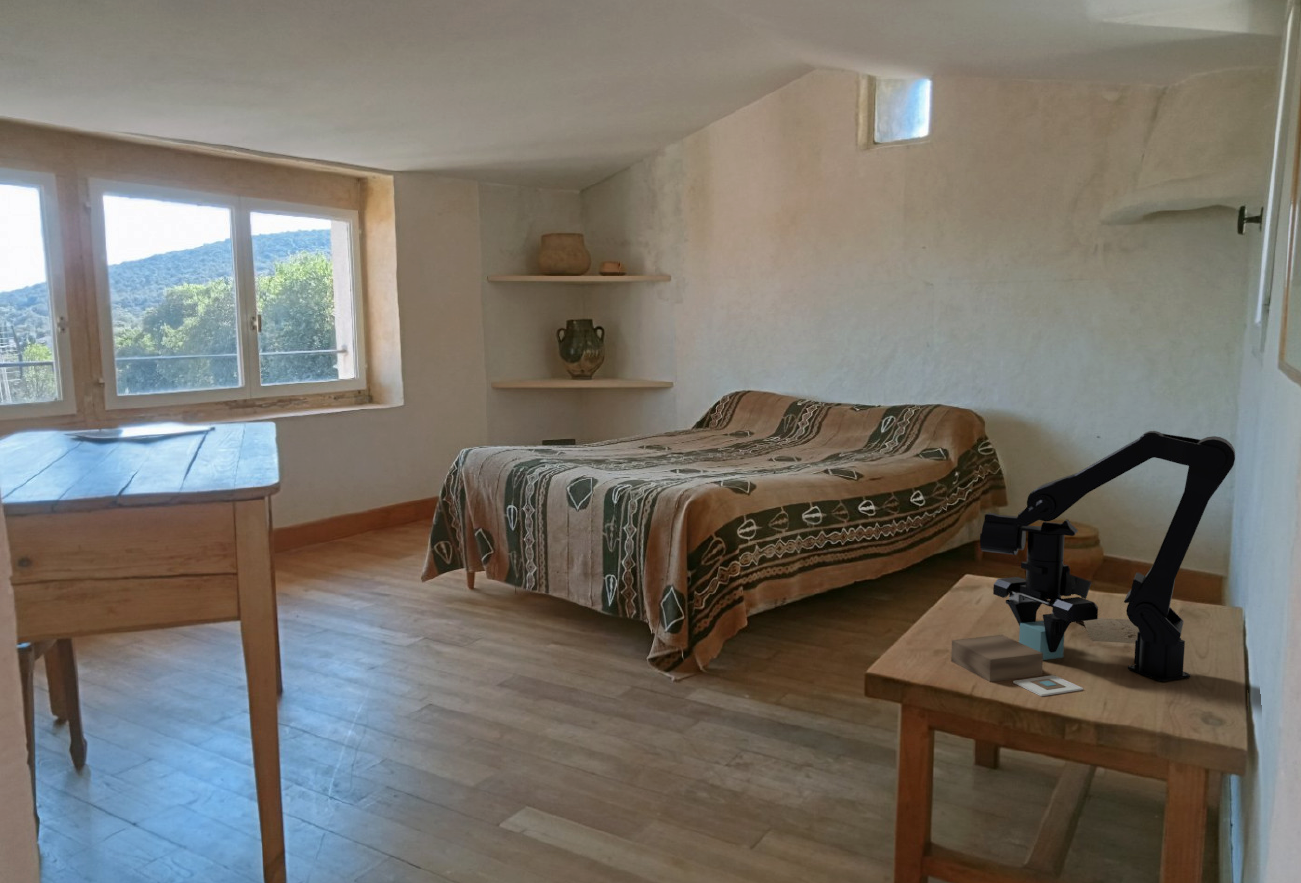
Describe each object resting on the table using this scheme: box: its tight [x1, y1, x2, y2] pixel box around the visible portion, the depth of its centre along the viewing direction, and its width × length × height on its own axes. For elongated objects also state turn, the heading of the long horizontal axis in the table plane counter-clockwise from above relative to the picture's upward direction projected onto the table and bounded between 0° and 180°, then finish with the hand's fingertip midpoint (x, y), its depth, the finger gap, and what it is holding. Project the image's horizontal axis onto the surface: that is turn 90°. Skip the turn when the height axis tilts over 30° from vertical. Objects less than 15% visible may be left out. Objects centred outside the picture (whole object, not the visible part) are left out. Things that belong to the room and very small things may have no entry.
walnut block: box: [950, 634, 1044, 683], centre depth 151 cm, size 10×10×4 cm
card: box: [1013, 674, 1084, 697], centre depth 142 cm, size 6×8×1 cm
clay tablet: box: [1082, 617, 1139, 644], centre depth 170 cm, size 14×10×3 cm
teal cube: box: [1018, 620, 1065, 661], centre depth 157 cm, size 5×5×5 cm
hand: (1041, 647), depth 157 cm, fingers closed on teal cube, 5 cm apart
